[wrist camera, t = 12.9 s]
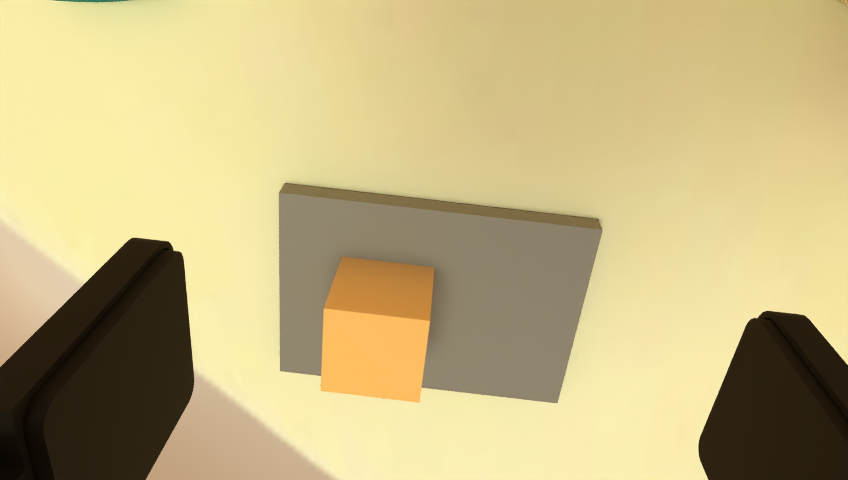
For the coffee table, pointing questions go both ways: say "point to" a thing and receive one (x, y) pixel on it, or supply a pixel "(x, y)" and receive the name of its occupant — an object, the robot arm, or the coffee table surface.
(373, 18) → the coffee table surface
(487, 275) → the grey oblong slab
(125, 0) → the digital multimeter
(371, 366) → the orange cube
